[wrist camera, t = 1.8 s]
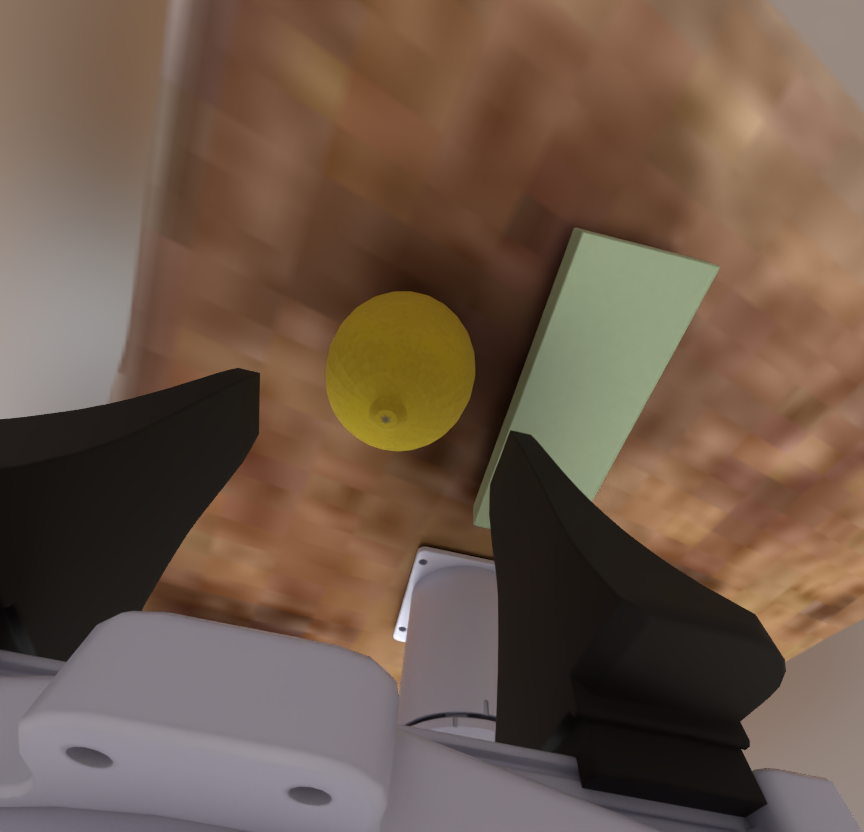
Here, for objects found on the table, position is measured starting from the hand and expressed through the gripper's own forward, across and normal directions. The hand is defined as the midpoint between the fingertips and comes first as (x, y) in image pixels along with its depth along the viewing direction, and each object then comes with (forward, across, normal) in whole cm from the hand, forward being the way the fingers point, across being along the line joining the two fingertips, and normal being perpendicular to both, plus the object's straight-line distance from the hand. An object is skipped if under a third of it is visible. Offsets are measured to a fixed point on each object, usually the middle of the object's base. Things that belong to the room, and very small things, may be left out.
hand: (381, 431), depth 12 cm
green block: (+9, -8, +1) cm, 12 cm away
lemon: (+9, 0, 0) cm, 9 cm away
